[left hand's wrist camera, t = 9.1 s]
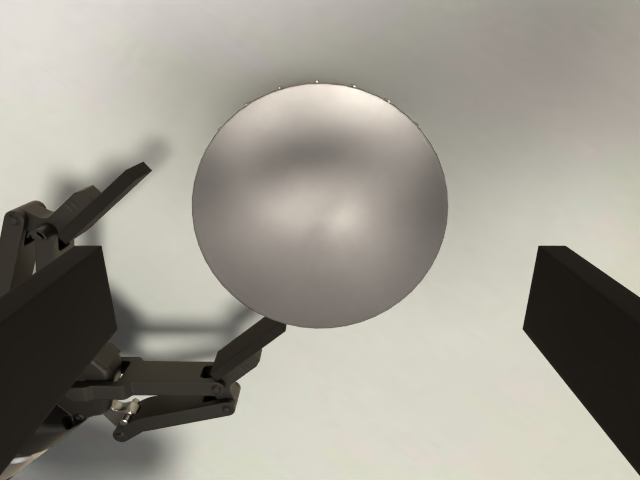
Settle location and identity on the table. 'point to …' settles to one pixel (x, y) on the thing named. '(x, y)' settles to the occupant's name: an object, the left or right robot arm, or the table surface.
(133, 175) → the right robot arm
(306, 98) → the lid
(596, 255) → the table surface
